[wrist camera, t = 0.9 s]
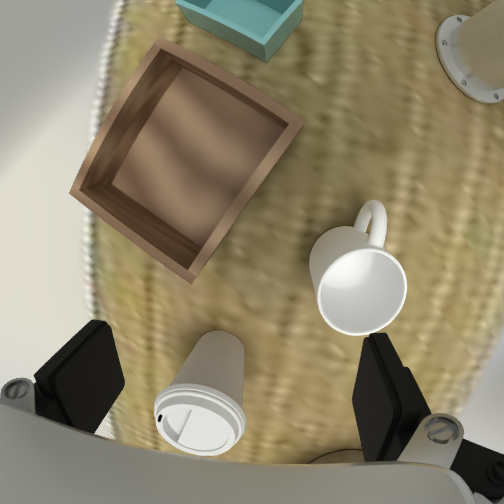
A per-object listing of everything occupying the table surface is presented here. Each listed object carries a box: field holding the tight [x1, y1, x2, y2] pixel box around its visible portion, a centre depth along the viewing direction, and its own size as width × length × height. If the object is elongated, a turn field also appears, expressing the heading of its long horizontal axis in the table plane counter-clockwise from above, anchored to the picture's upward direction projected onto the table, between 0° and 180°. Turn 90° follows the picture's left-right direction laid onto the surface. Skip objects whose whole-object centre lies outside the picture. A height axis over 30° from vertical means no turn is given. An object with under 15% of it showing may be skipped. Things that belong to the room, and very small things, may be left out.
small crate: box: [175, 0, 304, 63], centre depth 26 cm, size 7×11×6 cm, turn 55°
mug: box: [309, 200, 407, 336], centre depth 31 cm, size 12×8×10 cm
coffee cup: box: [154, 330, 246, 456], centre depth 34 cm, size 10×10×15 cm
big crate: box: [69, 36, 306, 284], centre depth 30 cm, size 18×16×8 cm
